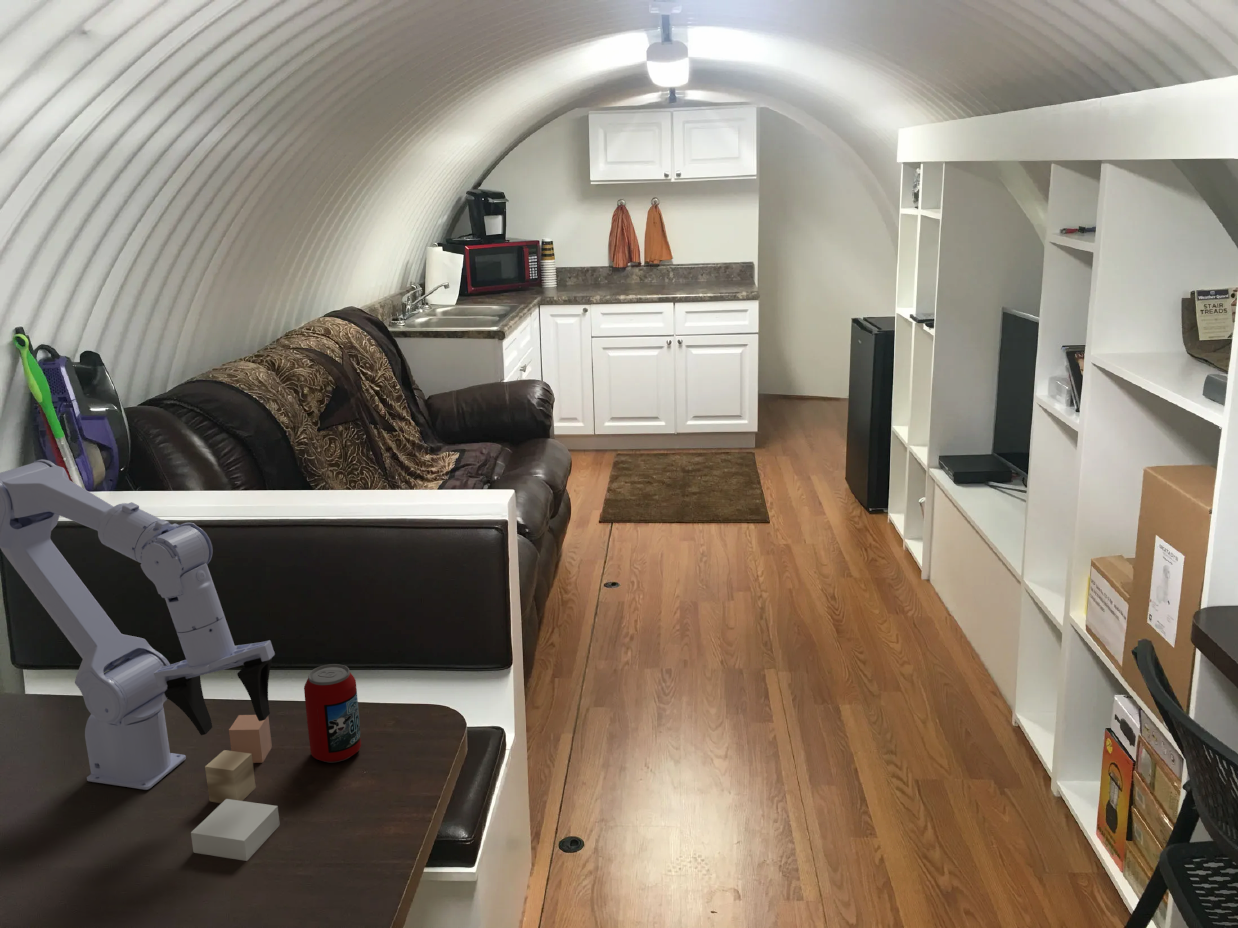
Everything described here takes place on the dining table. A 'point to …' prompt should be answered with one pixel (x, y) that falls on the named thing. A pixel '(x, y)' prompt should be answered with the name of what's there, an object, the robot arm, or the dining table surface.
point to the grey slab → (235, 829)
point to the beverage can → (332, 713)
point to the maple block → (230, 776)
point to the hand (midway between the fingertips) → (235, 724)
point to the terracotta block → (251, 737)
